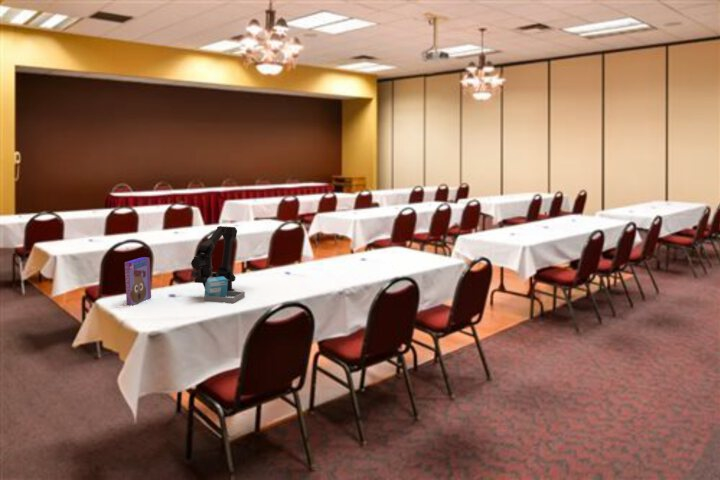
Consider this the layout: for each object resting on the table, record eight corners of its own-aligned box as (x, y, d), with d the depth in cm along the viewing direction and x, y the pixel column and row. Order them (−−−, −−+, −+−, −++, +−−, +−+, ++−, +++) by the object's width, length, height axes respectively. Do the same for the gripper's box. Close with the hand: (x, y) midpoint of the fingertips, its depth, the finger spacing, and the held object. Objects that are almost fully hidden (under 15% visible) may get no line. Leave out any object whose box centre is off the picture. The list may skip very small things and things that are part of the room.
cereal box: (134, 305, 336) (132, 262, 332) (126, 304, 337) (124, 262, 333) (151, 297, 353) (149, 257, 349) (143, 297, 354) (142, 256, 350)
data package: (207, 300, 347) (209, 281, 344) (204, 297, 351) (205, 278, 347) (226, 297, 355) (228, 278, 351) (222, 294, 358) (224, 275, 355)
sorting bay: (217, 295, 361) (217, 290, 361) (244, 297, 357) (244, 292, 356) (204, 301, 346) (204, 296, 346) (233, 303, 342) (233, 298, 342)
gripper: (201, 262, 362) (202, 287, 365) (185, 267, 344) (186, 294, 347) (218, 263, 360) (219, 288, 362) (203, 268, 342) (204, 295, 344)
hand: (207, 291), depth 354 cm, fingers closed
